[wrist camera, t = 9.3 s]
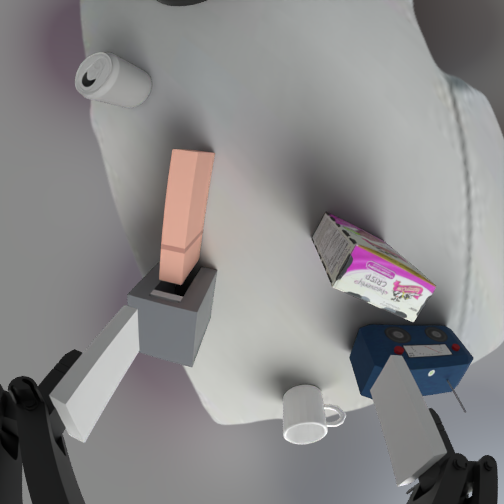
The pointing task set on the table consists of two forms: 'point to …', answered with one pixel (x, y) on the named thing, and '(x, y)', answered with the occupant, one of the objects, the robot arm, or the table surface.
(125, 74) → the beverage can
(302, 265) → the table surface
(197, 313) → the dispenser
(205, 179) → the tall pink prism
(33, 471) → the robot arm
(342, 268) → the candy bar box
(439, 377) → the radio
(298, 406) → the mug
